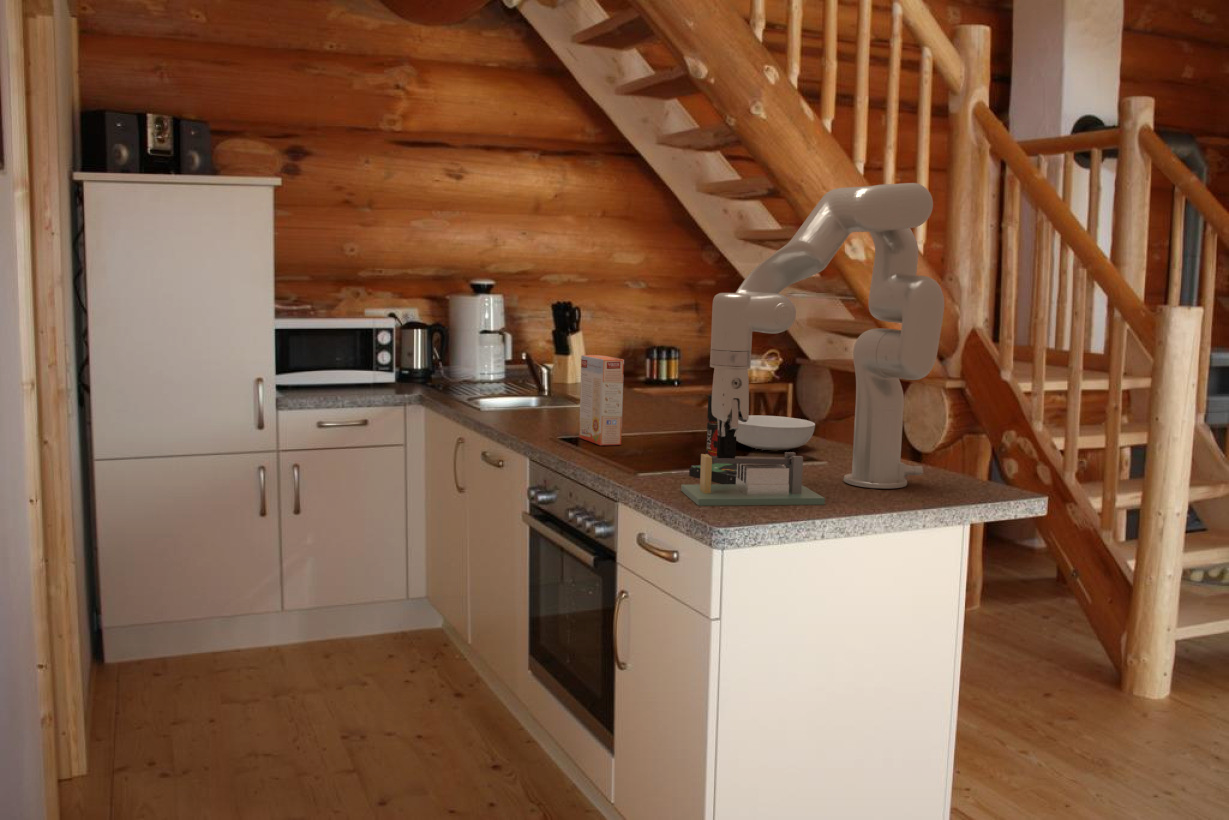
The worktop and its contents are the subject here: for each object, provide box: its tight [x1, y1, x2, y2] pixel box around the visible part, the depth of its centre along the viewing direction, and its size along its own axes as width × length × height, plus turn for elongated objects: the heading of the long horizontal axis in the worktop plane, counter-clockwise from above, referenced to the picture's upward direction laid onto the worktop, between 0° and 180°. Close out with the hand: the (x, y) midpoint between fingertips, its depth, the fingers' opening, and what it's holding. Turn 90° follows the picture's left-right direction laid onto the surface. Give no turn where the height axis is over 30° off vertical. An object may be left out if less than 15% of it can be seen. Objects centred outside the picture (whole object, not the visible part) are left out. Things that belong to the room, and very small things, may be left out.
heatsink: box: [736, 464, 789, 495], centre depth 221 cm, size 8×8×5 cm
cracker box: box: [578, 354, 625, 447], centre depth 284 cm, size 14×6×21 cm, turn 23°
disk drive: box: [688, 463, 737, 484], centre depth 240 cm, size 10×3×15 cm
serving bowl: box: [736, 414, 816, 451], centre depth 282 cm, size 21×21×7 cm
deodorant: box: [705, 393, 718, 456], centre depth 259 cm, size 6×6×15 cm
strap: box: [711, 455, 794, 465], centre depth 220 cm, size 17×3×2 cm, turn 100°
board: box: [680, 451, 826, 507], centre depth 221 cm, size 24×14×8 cm, turn 100°
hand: (726, 457), depth 219 cm, fingers closed
